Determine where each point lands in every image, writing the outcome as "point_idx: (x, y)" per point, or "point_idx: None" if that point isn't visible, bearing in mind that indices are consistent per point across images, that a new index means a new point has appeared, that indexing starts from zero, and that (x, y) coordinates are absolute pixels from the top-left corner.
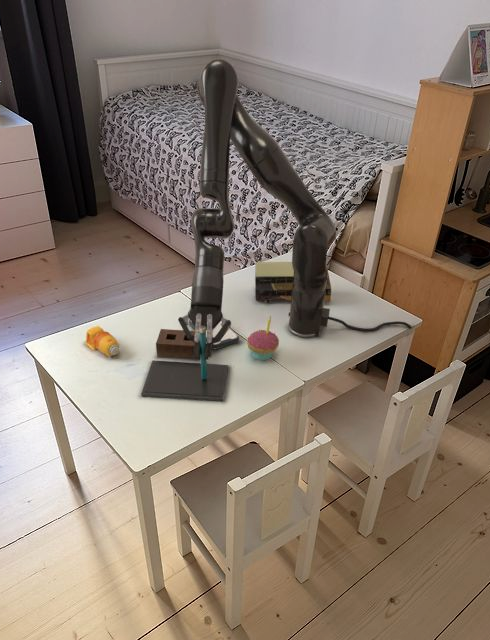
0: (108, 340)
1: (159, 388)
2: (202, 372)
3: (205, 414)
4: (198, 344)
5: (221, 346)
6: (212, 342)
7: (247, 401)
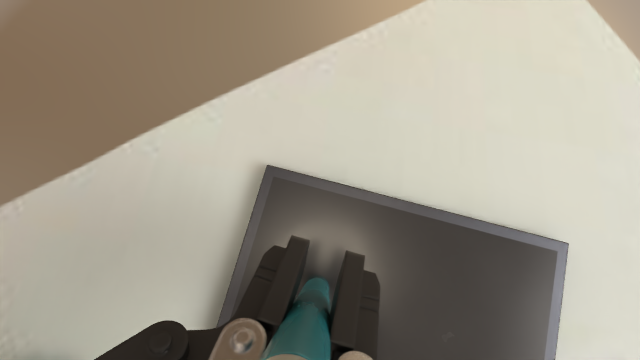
0: None
1: (499, 260)
2: (323, 282)
3: (336, 115)
4: (344, 331)
5: None
6: (219, 331)
7: (186, 154)
